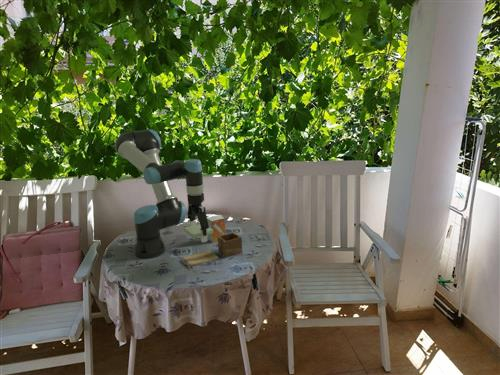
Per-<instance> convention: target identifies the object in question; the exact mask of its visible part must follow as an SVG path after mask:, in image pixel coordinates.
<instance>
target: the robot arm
mask: <svg viewBox="0 0 500 375" xmlns="http://www.w3.org/2000/svg"><path fill="white" fill-rule="evenodd" d="M161 142H162V140H161V138H160V136H159V133H158V132H157V131H156V130H154V129H151V128H150V129H142V130H134V131H127V132H126V131H125V132H123V133H122V134H120V135H118V136H117V138H116V139H115V142H114V149H115V152H116V154H117V155H118V156H119V157H121V158H122V159H126V160H127V161H128V162H130V163H131V164H132V165H133V166H134V167H135V168H136V169H138V171H140V172H142V177H143V180H144V181H145V184H147V185H151V187H152V190H153V193H154V194H155V197H156V203H155V205H154V204H150V205H143V206H141V207H139V208H138V209H136V210H135V211H134V213H133V218H134V219H133V222H134V227H135V236H136V241H135V247H134V255H135V256H136V257H137V256H138V257H137V258H140V259H153V258H156V257H159V256H161V255H163V254H164V253H165V252H166V244H165V242H164V241H163V239H162V238H163V237H162V235H161V230H165V229H168V228H170V227H175V226H178V225H180V224H182V223H184V222H185V221H186V217H187V219H188V221H189V224H190V225H189V226H193V225H197V218H198V224H200V226H201V229H200V230H201V237H200V239H201V243H207V242H208V236H207V229H208V228H209V225H208V221H207V218H208V217H207V212H206V207H205V206H203V202H204V201H205V195H204V187H205V185H204V184H203V183H204V181H203V180H204V179H203V166H202V161H201V160H200V159H197V158H190V159H186V160H185V161H184V160H174V161H172V162H170V163H166V164H162V161H161V159H160V155H159V154H160V151H161V148H162V143H161ZM177 179H185V183H186V185H185V186H186V193H187V194H186V195H187V204H188V206H187V208H186V205H185V203H184V202H183V200H182V201H181V200H179V199H178V197H177V196H176V195H174V194H173V191H172V189H171V186H170V183H169V181H174V180H177ZM187 209H188V210H187ZM196 216H197V217H196Z"/></svg>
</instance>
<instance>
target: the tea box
mask: <svg viewBox="0 0 500 375" xmlns="http://www.w3.org/2000/svg"><path fill="white" fill-rule="evenodd" d="M242 238H243V237H241V236H240V235H238V234H237V233H236V232H230V233H226V234H225V235H222V236H218V242H217V245H218V246H217V247H218V253H219V254H220V255H222V256H223V257H225V258H230V257H234V256H237V255H241V254H242V253H243V239H242Z"/></svg>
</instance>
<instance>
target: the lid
mask: <svg viewBox="0 0 500 375" xmlns="http://www.w3.org/2000/svg"><path fill="white" fill-rule="evenodd" d="M200 229H201V226H200V223H198V224H197V223H196V225H193V226H190V225H189V226H186V227H183V231H184V232H186V234H188V235H189V236H190V237H191V238H193V239H198V238H201V230H200ZM211 233H213V229H211V228H210V227H209V228H208V229H207V234H211Z"/></svg>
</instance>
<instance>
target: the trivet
mask: <svg viewBox="0 0 500 375" xmlns="http://www.w3.org/2000/svg"><path fill="white" fill-rule="evenodd" d="M182 260H183V261H184V263H186V264H187V265H188V266H189V267H190V268H191V269H194V267H196V266H200V265H202V264H206V263H209V262H212V261H215V260H219V256H217V254H215V253H214V252H212V251H211V250H210V249H207V250H204V251H201V252H197V253H194V254H190V255H186V256H183V257H182Z"/></svg>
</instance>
